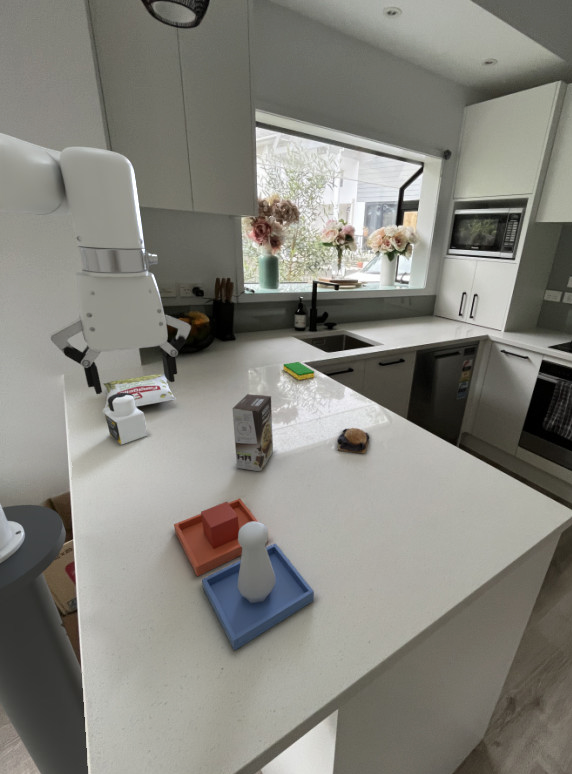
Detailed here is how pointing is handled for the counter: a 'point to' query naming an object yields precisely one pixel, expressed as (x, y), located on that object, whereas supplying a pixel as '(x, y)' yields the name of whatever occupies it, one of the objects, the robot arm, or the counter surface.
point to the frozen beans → (141, 390)
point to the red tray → (200, 547)
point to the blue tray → (256, 618)
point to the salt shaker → (255, 563)
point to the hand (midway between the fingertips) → (135, 384)
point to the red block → (220, 524)
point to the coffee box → (253, 431)
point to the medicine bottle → (125, 418)
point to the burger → (353, 440)
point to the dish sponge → (298, 370)
